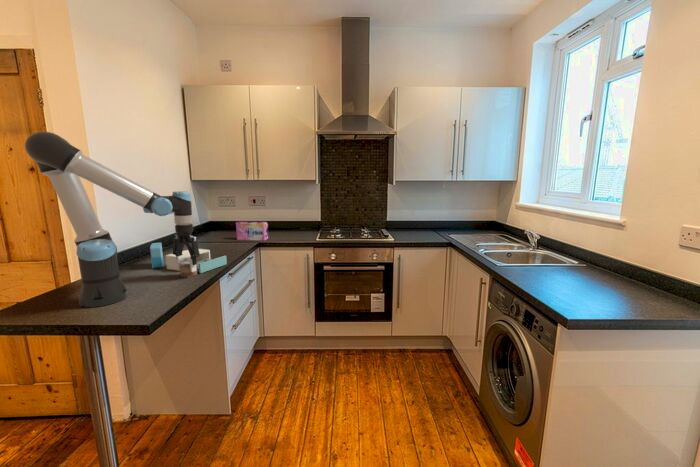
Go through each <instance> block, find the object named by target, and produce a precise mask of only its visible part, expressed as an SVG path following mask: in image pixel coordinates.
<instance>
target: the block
mask: <svg viewBox="0 0 700 467" xmlns="http://www.w3.org/2000/svg"><path fill="white" fill-rule="evenodd" d="M196 269H197V268H196ZM179 272H180V277H182V278H188V279H189V278H192V277H194V276H197V275H198V271H194V272H191V268H190V264H187V265H184V266H181V267H180V271H179Z"/></svg>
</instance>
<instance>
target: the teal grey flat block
mask: <svg viewBox="0 0 700 467" xmlns="http://www.w3.org/2000/svg"><path fill="white" fill-rule="evenodd" d="M227 262H228V260H227V255H223V256H219V257H216V258H213V259H212V258H210V259H205V260H201V261H198V262H197V264H196V268H197V272H199V274H203V273H206V272H208V271H212V270H214V269H217V268H219V267H223V266H225V265H226V266H227V265H228V263H227Z"/></svg>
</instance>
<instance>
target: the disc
mask: <svg viewBox="0 0 700 467" xmlns="http://www.w3.org/2000/svg"><path fill="white" fill-rule="evenodd" d="M190 258H191V257H185V258H180V259H177V264H190Z"/></svg>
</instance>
